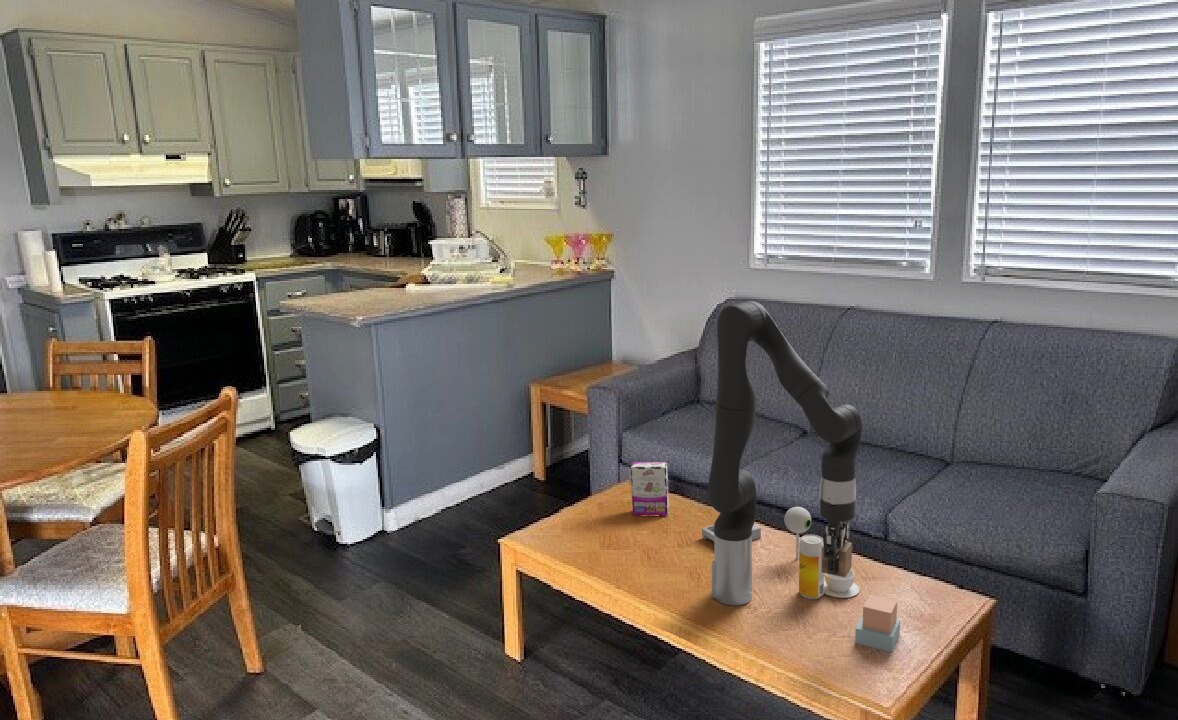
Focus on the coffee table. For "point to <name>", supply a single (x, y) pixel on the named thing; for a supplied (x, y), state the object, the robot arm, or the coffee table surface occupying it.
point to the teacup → (840, 585)
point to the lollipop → (797, 523)
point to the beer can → (811, 567)
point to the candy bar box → (649, 488)
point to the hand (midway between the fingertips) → (836, 566)
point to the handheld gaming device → (709, 532)
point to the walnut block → (840, 560)
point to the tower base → (877, 637)
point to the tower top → (880, 614)
